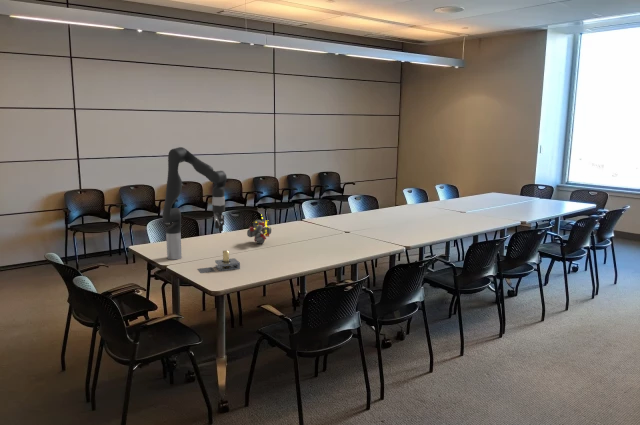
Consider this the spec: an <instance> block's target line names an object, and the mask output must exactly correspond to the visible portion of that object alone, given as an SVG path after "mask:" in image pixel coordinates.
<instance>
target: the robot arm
mask: <svg viewBox="0 0 640 425" xmlns="http://www.w3.org/2000/svg"><path fill="white" fill-rule="evenodd" d="M184 162H186V163H187V164H190V165H191V166H192V167H193V169H194V171H196V172H197V173H199V174H200V175H202V176H204V177H205V178H206V179H208V180H209V181H210V182H211V183H213V184H215V186H213V188H212V200H211V203H212V204H211V205H212V207H211V209H212V210H211V211H212V212H213V221H214V229H218V231H219V232H223V231H224V225H225V215H224V214H223V213H224V212H225V211H226V200H225V188H226V186H227V185H226V184H227V179H228V178H227V174H226V172H225V171H224V170H217V171H215V170H214V168H213V166H211V165H210V164H208V163H205V162H204V161H202V160H201V159H199V157H197V156H195V155H194V154H193V153H191V152H190V151H189V150H188V149H187V148H185V147H181V146H180V147H179V146H178V147H176V148H171V149H170V150H169V152H168V155H167V165H168V166H167V167H168V168H167V178H166V179H167V180H166V188H165V190H166V191H165V199H164V204H163V209H162V220H163V223H165V224H171V225H170V226H168V227H167V228H166V229H165V237H166V255H167V258H166V259H168V260H179V259H181V258H182V257H183V256H182V255H183V254H182V236H181V235H182V234H181V232H182V231H181V229H182V212H181V210H180V208H178V207H174V208H173V205H174V203H175V201H177V199H178V198H179V196H180V195H181V194H182V186H183V181H182V177H181V176H180V173H179V166H180V164H181V163H184Z"/></svg>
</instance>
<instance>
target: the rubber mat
mask: <svg viewBox="0 0 640 425" xmlns="http://www.w3.org/2000/svg"><path fill="white" fill-rule="evenodd" d="M196 270H197V271H198V272H199V273H200V274H206V273H214V272H216V270H215V269H214V268H213V267H202V268H197V269H196Z"/></svg>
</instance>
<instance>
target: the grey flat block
mask: <svg viewBox="0 0 640 425" xmlns="http://www.w3.org/2000/svg"><path fill="white" fill-rule="evenodd" d="M214 263H215V265H214V267H215V268H216V269H217V270H218V271H219V272H222V271H223V272H225V271H233V270H240V269H241V263H240V261H239V260H237V259H236V258H229V262H228V263H223V259H217V260H214ZM223 266H229V267H228V268H223Z"/></svg>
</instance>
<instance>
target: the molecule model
mask: <svg viewBox="0 0 640 425" xmlns="http://www.w3.org/2000/svg"><path fill="white" fill-rule="evenodd" d="M260 216H263V214H261V215H260ZM262 219H264V217H261V219H255V220H254V221H253V222H252V223H253V225H252V226H249V229H247V231H246V233H247V234H246V235H247V237H248V238H254V239H253V240H254V242H256V243H257V244H262V245H263V244H264V243H265V240H267V237H268V238H269V237H270V235H271V233H272V229H273V230H274V228H272V227H271V226H268V221H262ZM246 224H247V222H246Z"/></svg>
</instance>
